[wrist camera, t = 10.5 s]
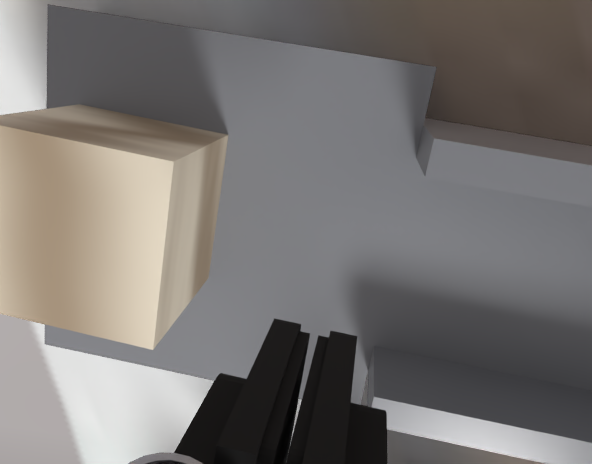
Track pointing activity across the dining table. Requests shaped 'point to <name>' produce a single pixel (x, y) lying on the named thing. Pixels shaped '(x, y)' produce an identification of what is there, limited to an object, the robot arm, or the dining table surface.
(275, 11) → the dining table surface
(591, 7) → the dining table surface
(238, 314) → the grey stepped platform
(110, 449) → the dining table surface
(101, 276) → the birch block
